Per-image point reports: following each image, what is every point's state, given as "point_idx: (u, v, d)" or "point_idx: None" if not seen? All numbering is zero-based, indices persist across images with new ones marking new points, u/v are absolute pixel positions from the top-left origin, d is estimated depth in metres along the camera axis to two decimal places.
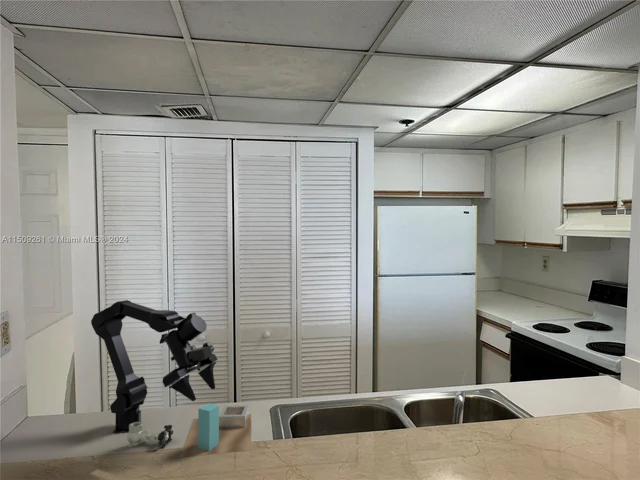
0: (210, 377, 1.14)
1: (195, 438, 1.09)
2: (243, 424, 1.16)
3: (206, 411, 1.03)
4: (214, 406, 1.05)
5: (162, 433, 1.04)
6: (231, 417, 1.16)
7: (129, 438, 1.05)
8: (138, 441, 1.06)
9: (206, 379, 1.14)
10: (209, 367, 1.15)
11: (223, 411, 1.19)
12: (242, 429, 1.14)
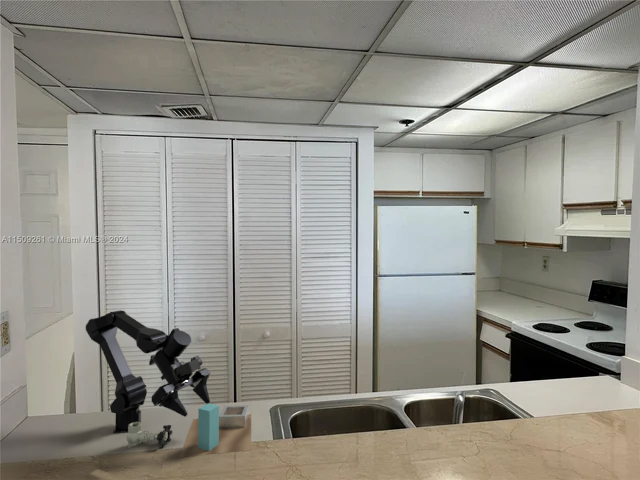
0: (204, 391, 1.12)
1: (195, 438, 1.09)
2: (243, 424, 1.16)
3: (206, 411, 1.03)
4: (214, 406, 1.05)
5: (161, 433, 1.04)
6: (231, 417, 1.16)
7: (128, 438, 1.05)
8: (137, 441, 1.06)
9: (200, 394, 1.12)
10: (201, 381, 1.13)
11: (223, 411, 1.19)
12: (242, 429, 1.14)
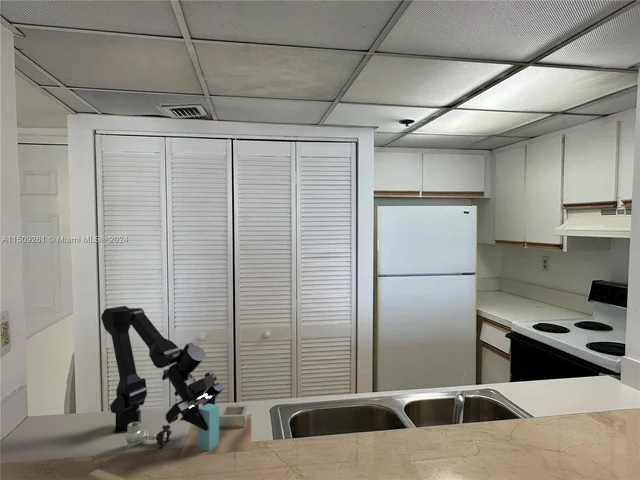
0: None
1: (195, 438, 1.09)
2: (243, 424, 1.16)
3: (206, 411, 1.03)
4: (214, 406, 1.05)
5: (160, 433, 1.04)
6: (231, 417, 1.16)
7: (127, 438, 1.05)
8: (136, 441, 1.06)
9: None
10: (210, 400, 1.08)
11: (223, 411, 1.19)
12: (242, 429, 1.14)
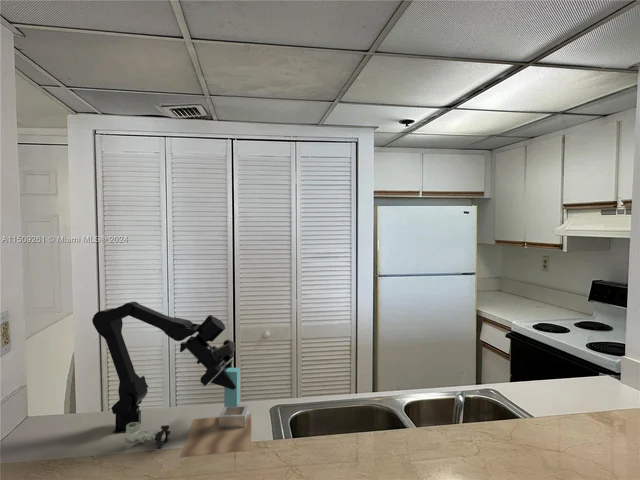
0: None
1: (195, 438, 1.09)
2: (243, 424, 1.16)
3: (233, 372, 1.16)
4: (237, 368, 1.19)
5: (159, 433, 1.03)
6: (231, 417, 1.16)
7: (126, 438, 1.05)
8: (135, 441, 1.06)
9: None
10: (229, 365, 1.21)
11: (223, 411, 1.19)
12: (242, 429, 1.14)
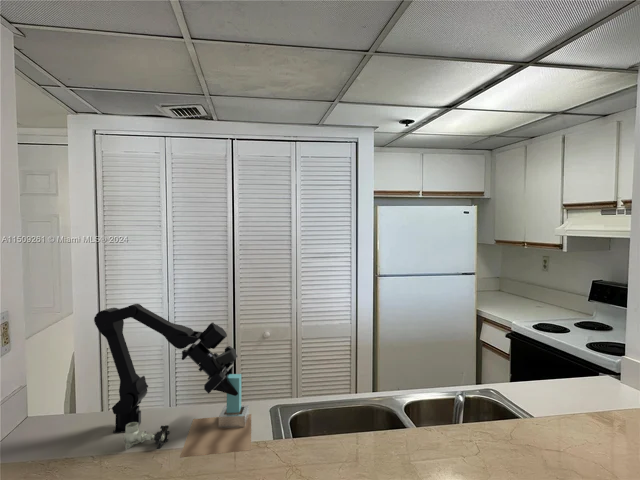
0: None
1: (195, 438, 1.09)
2: (243, 424, 1.16)
3: (236, 378, 1.18)
4: (238, 375, 1.21)
5: (158, 433, 1.03)
6: (231, 417, 1.16)
7: (125, 438, 1.05)
8: (134, 441, 1.06)
9: None
10: (230, 371, 1.23)
11: (223, 411, 1.19)
12: (242, 429, 1.14)
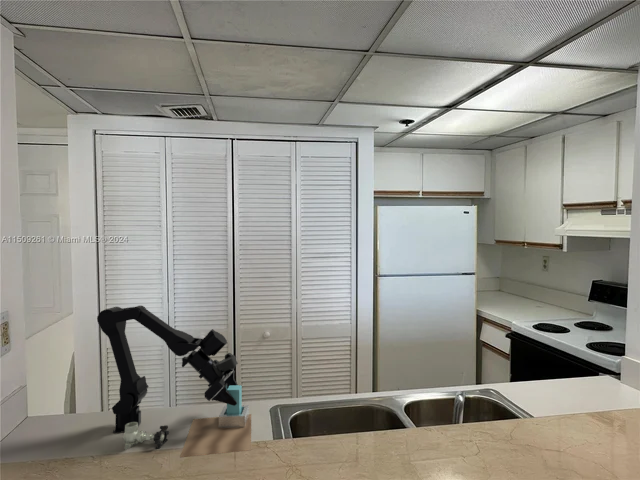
0: (235, 384, 1.24)
1: (195, 438, 1.09)
2: (243, 424, 1.16)
3: (236, 390, 1.18)
4: (238, 386, 1.21)
5: (157, 433, 1.03)
6: (231, 417, 1.16)
7: (125, 438, 1.05)
8: (134, 441, 1.06)
9: None
10: (231, 376, 1.25)
11: (223, 411, 1.19)
12: (242, 429, 1.14)
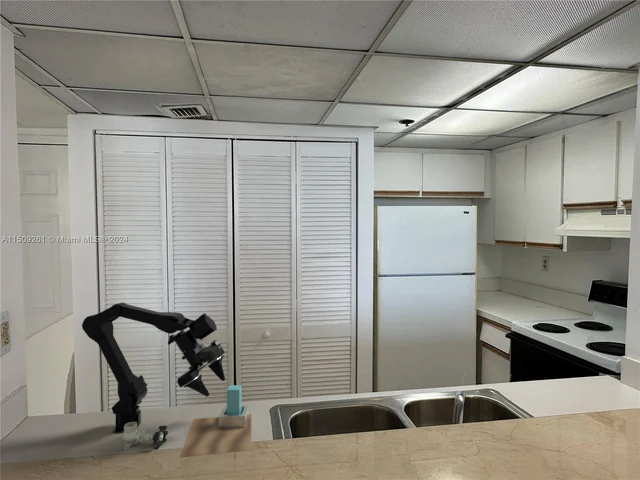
0: (220, 370, 1.23)
1: (195, 438, 1.09)
2: (243, 424, 1.16)
3: (236, 390, 1.18)
4: (238, 386, 1.21)
5: (156, 433, 1.03)
6: (231, 417, 1.16)
7: (124, 438, 1.05)
8: (133, 441, 1.05)
9: (216, 371, 1.24)
10: (218, 361, 1.23)
11: (223, 411, 1.19)
12: (242, 429, 1.14)
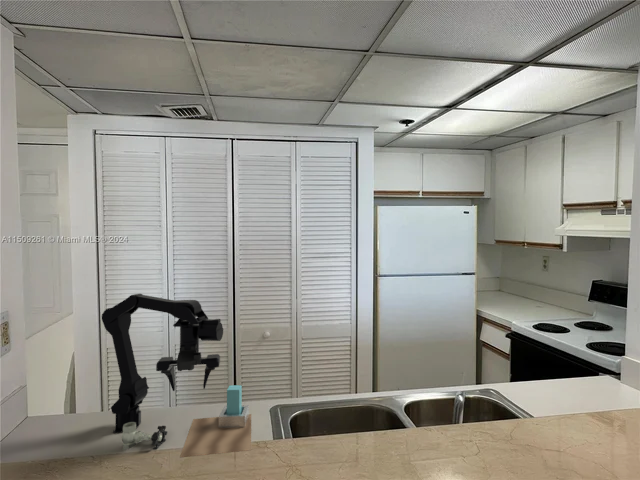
0: (204, 378, 1.17)
1: (195, 438, 1.09)
2: (243, 424, 1.16)
3: (236, 390, 1.18)
4: (238, 386, 1.21)
5: (155, 434, 1.03)
6: (231, 417, 1.16)
7: (123, 438, 1.05)
8: (132, 441, 1.05)
9: None
10: (205, 370, 1.16)
11: (223, 411, 1.19)
12: (242, 429, 1.14)
